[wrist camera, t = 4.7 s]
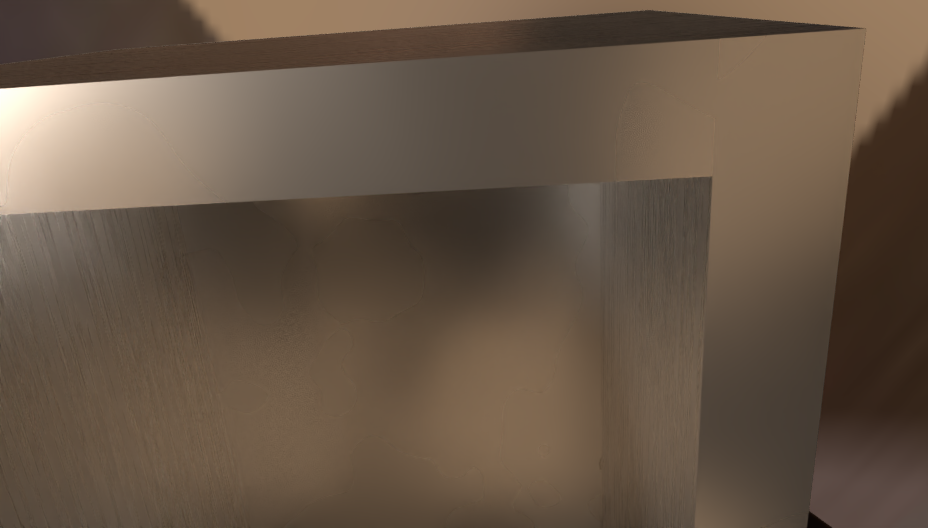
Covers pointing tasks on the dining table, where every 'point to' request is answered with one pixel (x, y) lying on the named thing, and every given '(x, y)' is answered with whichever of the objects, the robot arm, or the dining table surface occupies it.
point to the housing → (425, 276)
